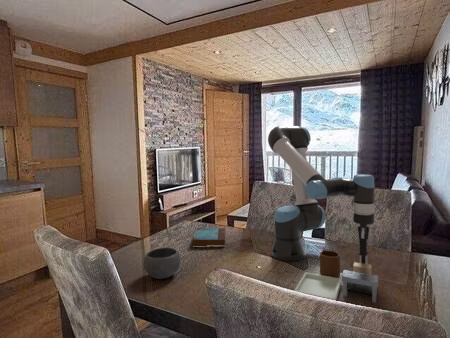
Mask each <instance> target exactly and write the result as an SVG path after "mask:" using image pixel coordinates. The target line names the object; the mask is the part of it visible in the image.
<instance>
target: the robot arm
mask: <svg viewBox="0 0 450 338" xmlns="http://www.w3.org/2000/svg"><path fill="white" fill-rule="evenodd" d="M267 142H268V146H269V147H270V149H271V151H272V152H273V153H274V154H276V155H278V156H280V157H281V159H282V160H283V161H284V162H285V163H286V165H288V167H289V168H290V170H291V176H292V182H293V188H294V193H295V198H296V202H295V203H294V205H285V206H280V207H278V208H276V209H275V211H274V241H273V245H272V248H271V256H272V257H273V258H274V259H276V260H280V261H282V262H283V261H285V262H293V261H294V262H295V261H299V260H302V259H303V258H304V254H305V253H304V248H303V245H302V243H301V241H300V239H301V238H300V233H302V232H308V231H313V230H317V229H319V228H321V227H323V225H324V224H325V222H326V211H325V209H324V208H323V207H322V206H320V205H319V202H318V201H317V200H322V199H328V198H335V197H342V196H343V197H344V196H345V197H350V198H351V197H352V199H353V202H352V204H353V205H352V208H353V215H352V216H353V218H352V220H353V223H355V224H359V225H358V227H357V233H358V239H359V252H357V255H358V256H359V263H363V264H368V255H369V254H370V252H369V251H368V239H369V234H370V227H369V226H370V225H373V224H374V223H375V214H374V213H375V209H376V207H377V206H376V205H375V187H376V186H375V177H374V176H373V175H371V174H363V173H361V174H354V175H353V177H352V178H348V177H340V176H339V177H335V176H334V177H331V178H330V179H326V178H325V177H324V176H322V175H321V174H320V172H318V170H316V168H315V167H313V165H312V164H311V163H310V162H309V161H308V159H307V154H306V153H307V151H308V150H309V149H308V147H309V145H310V142H311V134H310V132H309V129H307V128H306V127H304V126H302V125H301V126H300V125H277V126H275V127H273V128H272V129H271V130H270V131H269V134H268V136H267Z"/></svg>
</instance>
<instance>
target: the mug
mask: <svg viewBox="0 0 450 338" xmlns="http://www.w3.org/2000/svg"><path fill="white" fill-rule="evenodd" d="M319 275H324V276H329V277H334V278H340V276H341V255H340V253H338V252H337V251H334V250H329V249H327V248H324V249H323V250H322V251H320V253H319ZM340 279H341V278H340Z"/></svg>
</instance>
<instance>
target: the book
mask: <svg viewBox="0 0 450 338" xmlns="http://www.w3.org/2000/svg"><path fill="white" fill-rule="evenodd" d="M207 245H225V246H226V227H197V228H196V229H195V232H194V235H193V237H192V242H191V246H192V247H193V246H207Z"/></svg>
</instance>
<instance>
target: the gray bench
mask: <svg viewBox="0 0 450 338" xmlns="http://www.w3.org/2000/svg"><path fill="white" fill-rule="evenodd" d="M341 279H342V297H348V290H349V291H353V292H359V293H363V294H369V295H372V296H371V298H372V299H371V302H372V303H374V304H377V290H378V287H379V275H375V274H372V273H371V274H365V273H359V272H354V271H353V270H347V269H343V272H342V275H341Z"/></svg>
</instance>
